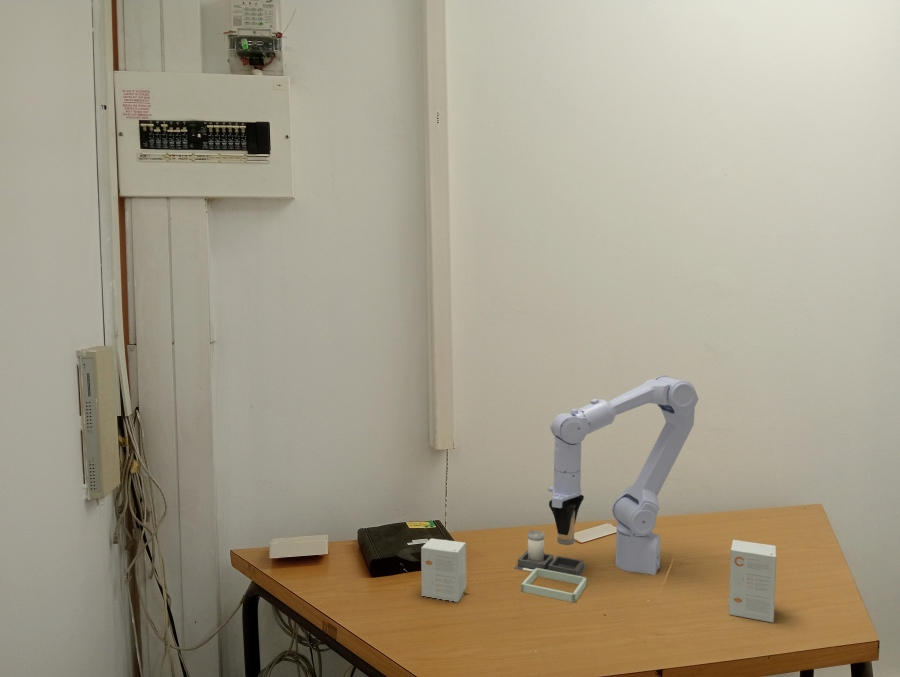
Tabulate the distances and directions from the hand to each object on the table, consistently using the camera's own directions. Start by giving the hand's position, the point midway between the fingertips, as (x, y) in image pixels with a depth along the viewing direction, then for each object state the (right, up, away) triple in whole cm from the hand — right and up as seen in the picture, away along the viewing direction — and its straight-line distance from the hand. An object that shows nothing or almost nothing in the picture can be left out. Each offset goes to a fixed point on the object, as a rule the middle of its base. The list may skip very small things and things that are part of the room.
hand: (565, 530), depth 153 cm
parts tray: (-4, -11, -8) cm, 14 cm away
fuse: (-6, -9, +4) cm, 11 cm away
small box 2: (+34, -12, -16) cm, 39 cm away
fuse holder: (-3, -10, +3) cm, 11 cm away
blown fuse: (0, -2, 0) cm, 2 cm away
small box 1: (-26, -11, -9) cm, 30 cm away
